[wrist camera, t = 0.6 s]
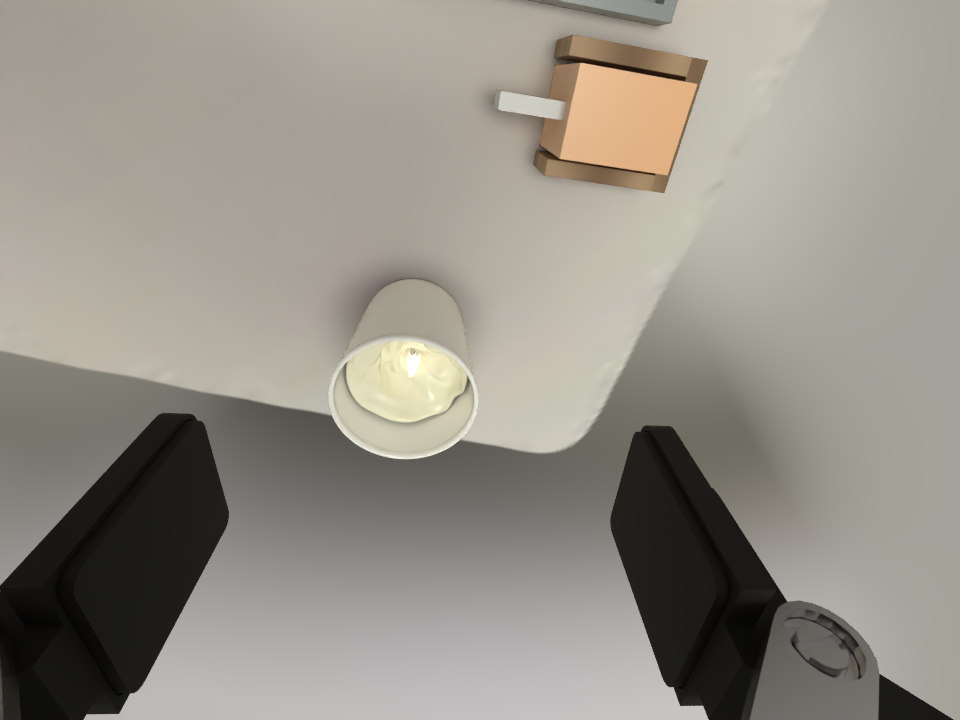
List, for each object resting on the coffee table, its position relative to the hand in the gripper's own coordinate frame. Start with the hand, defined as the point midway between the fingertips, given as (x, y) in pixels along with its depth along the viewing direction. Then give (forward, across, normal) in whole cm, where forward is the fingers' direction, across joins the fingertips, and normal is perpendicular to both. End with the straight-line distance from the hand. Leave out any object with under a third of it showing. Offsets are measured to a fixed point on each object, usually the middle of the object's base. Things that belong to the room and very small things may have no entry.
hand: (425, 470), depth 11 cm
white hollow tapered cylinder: (+30, +3, +10) cm, 32 cm away
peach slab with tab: (+30, -8, -7) cm, 32 cm away
